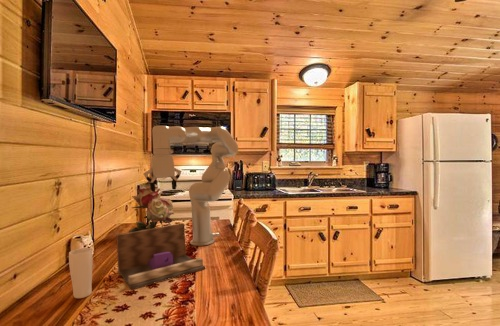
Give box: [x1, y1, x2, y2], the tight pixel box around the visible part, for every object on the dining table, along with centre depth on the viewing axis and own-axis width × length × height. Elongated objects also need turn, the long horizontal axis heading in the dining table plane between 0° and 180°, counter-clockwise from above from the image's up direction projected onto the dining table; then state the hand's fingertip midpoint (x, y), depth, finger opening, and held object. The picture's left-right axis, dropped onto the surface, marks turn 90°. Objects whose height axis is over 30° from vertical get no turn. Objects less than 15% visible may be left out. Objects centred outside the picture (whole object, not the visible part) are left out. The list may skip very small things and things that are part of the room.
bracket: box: [148, 252, 173, 270], centre depth 119 cm, size 12×7×7 cm, turn 32°
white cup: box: [68, 247, 94, 299], centre depth 98 cm, size 7×7×15 cm
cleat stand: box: [116, 222, 206, 290], centre depth 118 cm, size 28×21×15 cm
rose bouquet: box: [121, 183, 175, 233], centre depth 181 cm, size 26×29×30 cm
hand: (163, 190), depth 135 cm, fingers open, 9 cm apart
